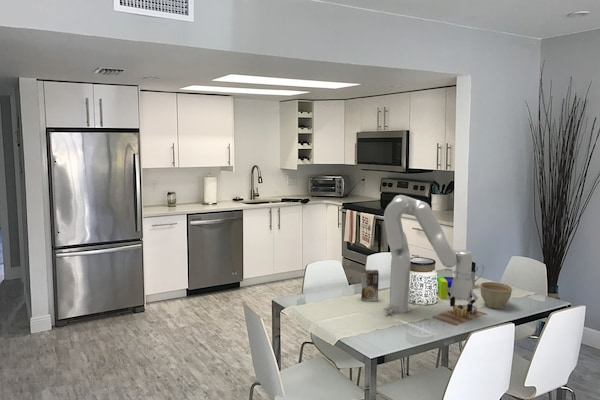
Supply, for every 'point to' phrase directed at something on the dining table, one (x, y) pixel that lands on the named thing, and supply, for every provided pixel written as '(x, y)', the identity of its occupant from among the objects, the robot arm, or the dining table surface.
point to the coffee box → (370, 285)
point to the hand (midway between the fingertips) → (460, 308)
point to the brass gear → (460, 311)
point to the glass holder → (474, 273)
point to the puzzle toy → (444, 287)
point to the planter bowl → (495, 294)
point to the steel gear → (474, 309)
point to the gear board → (455, 320)
